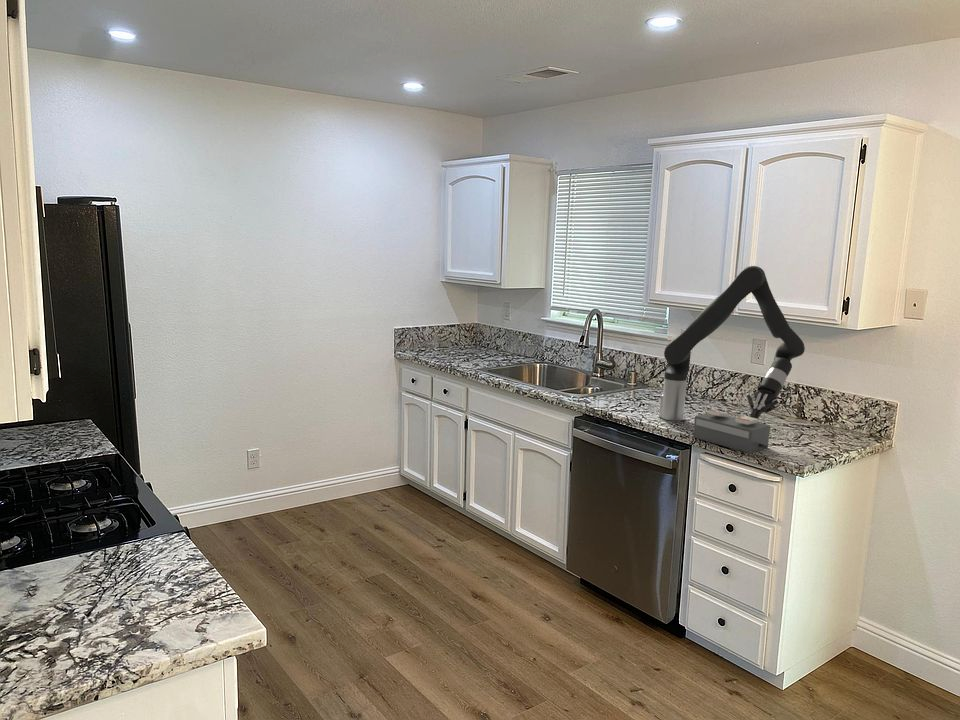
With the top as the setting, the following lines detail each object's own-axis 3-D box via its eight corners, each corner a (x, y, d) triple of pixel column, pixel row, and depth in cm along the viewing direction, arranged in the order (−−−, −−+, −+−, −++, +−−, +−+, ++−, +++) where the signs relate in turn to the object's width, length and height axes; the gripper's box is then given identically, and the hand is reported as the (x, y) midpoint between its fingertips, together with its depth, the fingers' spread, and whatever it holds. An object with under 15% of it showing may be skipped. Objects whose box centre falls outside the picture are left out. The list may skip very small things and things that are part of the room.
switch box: (692, 437, 276) (694, 416, 274) (711, 432, 284) (713, 411, 282) (756, 455, 255) (759, 432, 254) (775, 449, 263) (777, 427, 262)
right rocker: (735, 421, 264) (735, 418, 264) (745, 419, 269) (746, 415, 268) (747, 424, 260) (748, 421, 260) (758, 422, 265) (758, 418, 265)
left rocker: (707, 413, 273) (707, 409, 273) (717, 413, 278) (717, 410, 278) (718, 415, 269) (719, 412, 269) (728, 416, 274) (729, 413, 274)
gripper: (753, 373, 275) (733, 409, 270) (786, 379, 265) (766, 417, 260) (759, 385, 279) (740, 421, 274) (792, 391, 269) (772, 428, 264)
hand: (753, 419), depth 267 cm, fingers closed
